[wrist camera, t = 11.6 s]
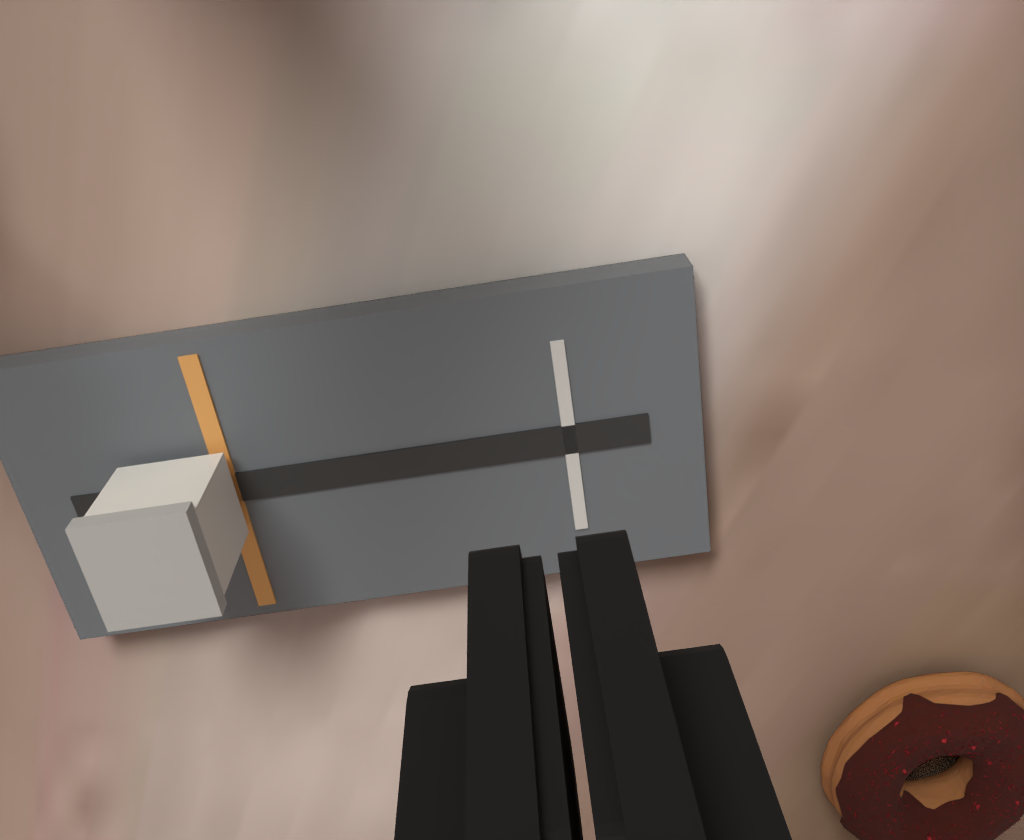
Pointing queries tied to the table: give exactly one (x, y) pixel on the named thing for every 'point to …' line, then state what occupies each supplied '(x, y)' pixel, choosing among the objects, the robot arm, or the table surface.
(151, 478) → the fader tab
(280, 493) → the fader console
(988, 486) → the table surface
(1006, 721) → the donut
